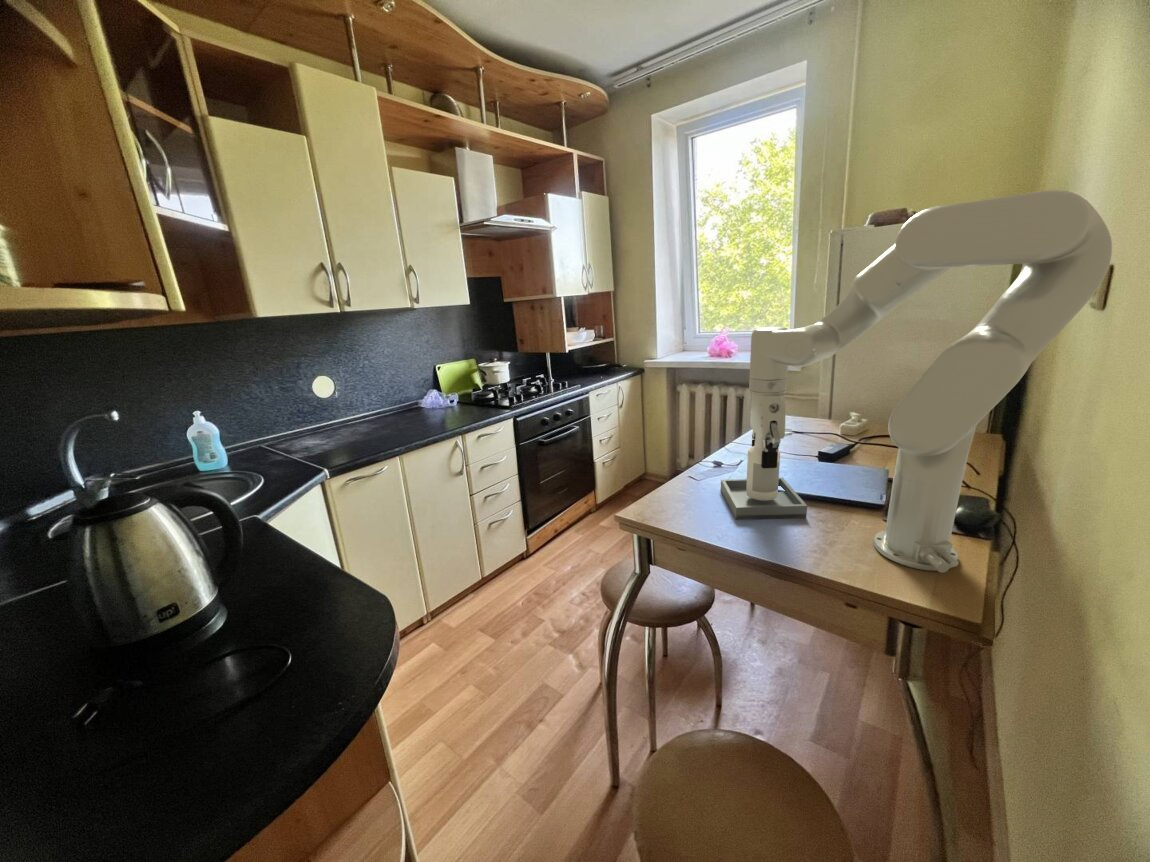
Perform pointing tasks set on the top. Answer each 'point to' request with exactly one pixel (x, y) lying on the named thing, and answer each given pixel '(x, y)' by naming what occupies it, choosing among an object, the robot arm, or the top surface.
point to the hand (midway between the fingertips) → (763, 460)
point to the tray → (762, 502)
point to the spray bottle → (761, 474)
